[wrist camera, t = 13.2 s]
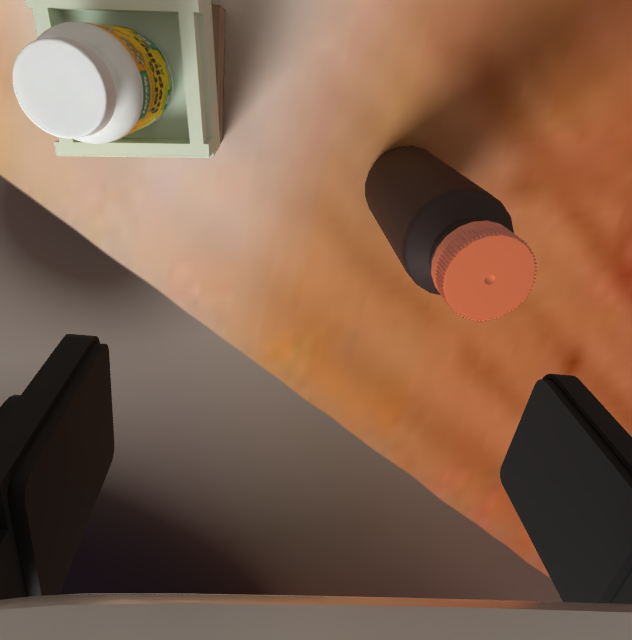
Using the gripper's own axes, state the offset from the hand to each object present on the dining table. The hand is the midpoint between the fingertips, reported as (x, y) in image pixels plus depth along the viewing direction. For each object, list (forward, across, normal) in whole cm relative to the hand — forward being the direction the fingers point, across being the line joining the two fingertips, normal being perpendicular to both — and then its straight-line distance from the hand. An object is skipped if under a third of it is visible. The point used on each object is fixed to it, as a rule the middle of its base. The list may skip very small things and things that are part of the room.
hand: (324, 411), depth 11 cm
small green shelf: (+30, +10, -4) cm, 32 cm away
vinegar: (+34, -10, +2) cm, 36 cm away
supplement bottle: (+26, +10, -4) cm, 28 cm away
